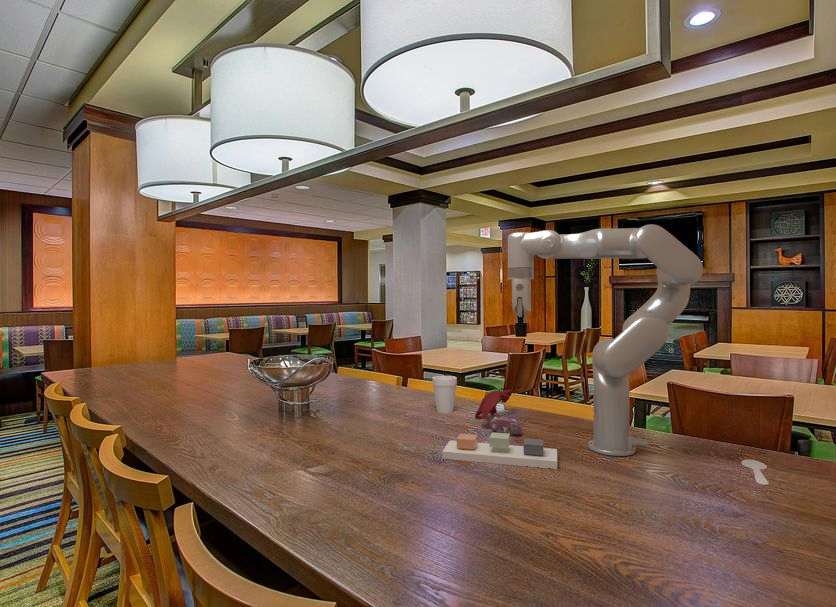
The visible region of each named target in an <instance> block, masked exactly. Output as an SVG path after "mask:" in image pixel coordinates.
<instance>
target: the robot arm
mask: <svg viewBox="0 0 836 607" xmlns="http://www.w3.org/2000/svg"><path fill="white" fill-rule="evenodd" d="M534 256H538V257H539V258H541V259H545V260H546V259H548V260H552V259H553V260H555V259H556V260H558V259H559V260H565V259H566V260H568V259H570V260H571V259H585V260H598V259H648V260H649V261H650V262H651V263H652V264H653V265H655V266H656V278H657V289H656V290H655V292H654V293H653V295H652V296H651V297H650V298H649V299H648V300H647V301H646V302H645V303H644V304H643V305H642V306H640V307H639V308H638V309H636V311H634V313H632V314H631V315H629V316H628V317H627V319H625V320H624V322H623V324H622V327H621V328H622V329H621V330H622V332H620V333H619V334H618V335H617V336H616V337H615V338H604V339H601V340H599V341H598V342H597V343H596V344H595V346H593V350H592V355H591V364H592V365H591V366H592V378H593V380H592V381H593V439H590V440H589V441H588V442H587V447H588V449H589V450H590V451H592V452H595V453H598V454H602V455H605V456H614V457H625V456H627V457H629V456H632V455H634V454H635V453H636V449H637V448H636V447H638V446H640V447H649V440H648V439H643V438H642V437H639V436H638V437H633V435H632V434H631V433H630V424H631V423H630V422H631V420H630V397H631V396H630V391H631V390H630V388H631V386H630V375H631V374H633V373H634V372H635V371H637V370H638V369H639V368H640V367H641V366H643V365H644V363H646V362H647V361H648V360H649V359H650V358H652V357H653V356H654V355H655V354H656V353H657V352H658V351H659V350H660V349H661V348H663V346H664V345H665V343H666V342H667V340H668V337H669V334H670V329H669V326H670V325H671V324H672V323H673V322H674V321H675V320H676V319H677V318H678V317H679V316H680V315H681V314H682V313H683V311H684V310H685V309H686V308H687V305H688V304H689V300H690V296H691V285H693V284H696V282H698V281H699V280H700V279H701V277H702V275H703V271H704V267H703V262H702V261H701V259H700V258H699V257H698V256H697V255H696V254H695V253H694V252H693V251H692V250H690V249H689V248H688V247H687V246H686V245H684V244H683V243H682V242H681V241H680V240H678V238H676V237H675V236H674V235H673V234H671V233H670V232H669V231H667V230H666V229H665V228H664V227H662V226H660V225H657V224H651V223H650V224H645V225H643V226H641V227H638V228H637V227H630V228H629V227H628V228H627V227H626V228H595V229H591V230H588V231H584V232H579V233H570V234H569V233H568V234H559V233H558V232H557V231H555V230H552V229H546V230H538V231H533V232H528V231H519V232H512V233H510V234H508V236H507V280H508V281H511V302H512V304H511V305H512V312H513V313H514V314H515V324H514V325H515V327H514V328H515V330H514V333H515V337H517V338H526V337H527V336H528V326H527V325H528V323H527V313H528V314H529V313H531V312H532V289H531V288H532V287H531V280H535V279H534V278H535V277H534V276H535V274H534V273H535V270H534V267H535V266H534V265H535V264H534V263H535V262H534V261H535V260H534V259H535V257H534Z"/></svg>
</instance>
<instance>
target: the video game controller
mask: <svg viewBox="0 0 836 607" xmlns="http://www.w3.org/2000/svg"><path fill="white" fill-rule="evenodd" d="M488 424H489V427H490V428H491V430H492V431H493V432H495V433H507V434H510V436H513V434H514V433H516V434H517V435H522V433H523V428H522V426H521V425H520V423H519V422H518V421H517V419H515V418H513V419H512V418H509V417H507V416H502V417H501V416H500V417H499V416H496V417H495V416H493V418H492V419H491V420H490V421H489V423H488ZM504 428H506V430H505V429H504ZM504 431H505V432H504Z"/></svg>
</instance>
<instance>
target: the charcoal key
mask: <svg viewBox="0 0 836 607" xmlns="http://www.w3.org/2000/svg"><path fill="white" fill-rule="evenodd" d="M523 446H524V454H535V455H543V450H544V448H545V447H544V439H537V438H535V439H534V438H524V441H523Z"/></svg>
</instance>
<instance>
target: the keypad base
mask: <svg viewBox="0 0 836 607" xmlns="http://www.w3.org/2000/svg"><path fill="white" fill-rule="evenodd" d="M441 457H442V458H441V459H442V460H452V461H462V462H463V461H464V462H474V463H483V464H484V463H486V464H494V465H495V464H496V465H506V466H507V465H508V466H516V465H517V466H518V467H526V466H528V468H537V467H539V469H548V468H551V470H558V449H557V448H548V447H544V450H543V455H535V454H524V445H514V444H513V445H512V444H509V448H497V447H489V442H487V443H486V442H478V444H477V446H476V448H475V449H465V448H457V440H451V439H450V440H449V441H448V443H447V444H446V446H445V447H444V448H443V450H442V452H441Z"/></svg>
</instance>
